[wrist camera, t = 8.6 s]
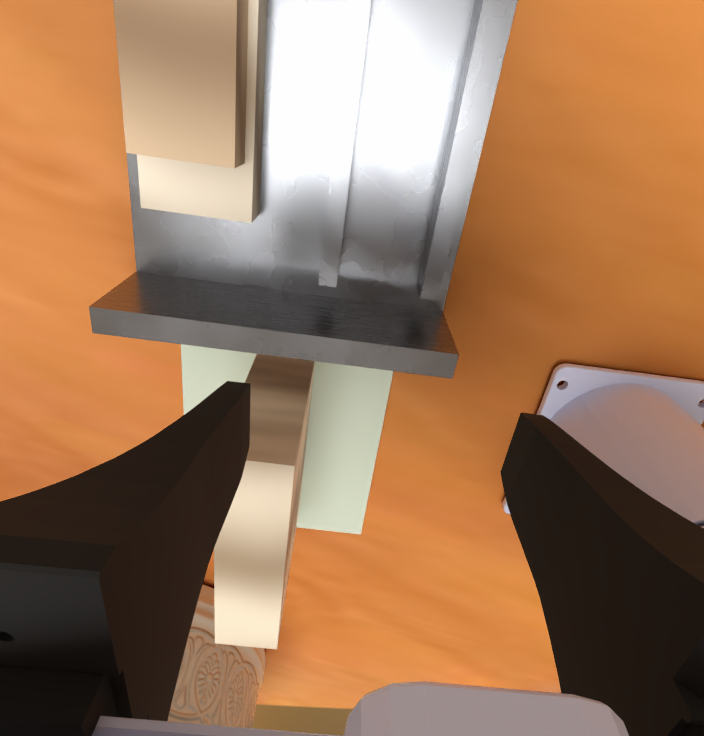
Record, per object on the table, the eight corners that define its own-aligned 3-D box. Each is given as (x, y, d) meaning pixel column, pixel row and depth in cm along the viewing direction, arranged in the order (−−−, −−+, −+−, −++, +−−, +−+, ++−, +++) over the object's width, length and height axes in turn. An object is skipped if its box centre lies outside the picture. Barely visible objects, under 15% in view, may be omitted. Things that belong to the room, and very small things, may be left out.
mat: (360, 529, 28) (360, 534, 28) (190, 509, 28) (188, 515, 28) (396, 348, 23) (397, 352, 22) (182, 321, 22) (180, 324, 22)
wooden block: (299, 508, 27) (277, 649, 20) (253, 503, 27) (214, 643, 20) (315, 352, 22) (294, 465, 15) (260, 345, 22) (213, 456, 15)
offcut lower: (259, 214, 19) (251, 223, 18) (156, 200, 19) (140, 207, 17) (268, -7, 16) (258, -17, 14) (142, -27, 15) (122, -39, 14)
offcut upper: (244, 163, 17) (234, 168, 15) (145, 148, 16) (126, 152, 15) (249, -18, 14) (237, -31, 13) (132, -37, 14) (108, -52, 13)
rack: (434, 323, 22) (452, 378, 18) (148, 286, 22) (92, 333, 17) (549, -165, 14) (630, -281, 10) (108, -244, 14) (-10, -405, 9)
